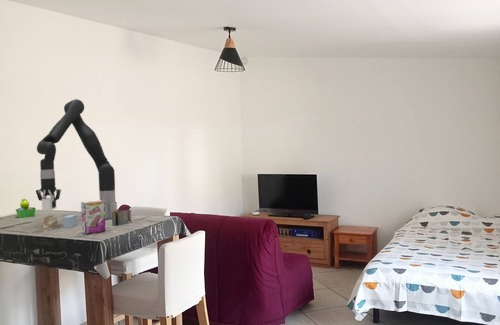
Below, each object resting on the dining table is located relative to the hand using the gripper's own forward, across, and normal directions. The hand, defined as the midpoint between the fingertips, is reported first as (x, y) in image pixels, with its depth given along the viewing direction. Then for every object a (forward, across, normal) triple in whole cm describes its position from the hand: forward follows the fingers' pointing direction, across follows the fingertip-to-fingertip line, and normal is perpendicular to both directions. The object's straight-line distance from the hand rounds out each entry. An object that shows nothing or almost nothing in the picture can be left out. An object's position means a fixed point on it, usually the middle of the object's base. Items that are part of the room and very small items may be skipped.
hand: (49, 207), depth 278 cm
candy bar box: (+11, -31, +17) cm, 37 cm away
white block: (+1, 0, 0) cm, 1 cm away
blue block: (+11, -11, -1) cm, 16 cm away
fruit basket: (+12, +33, -38) cm, 51 cm away
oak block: (+11, 0, 0) cm, 11 cm away
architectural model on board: (+12, -39, -6) cm, 41 cm away
